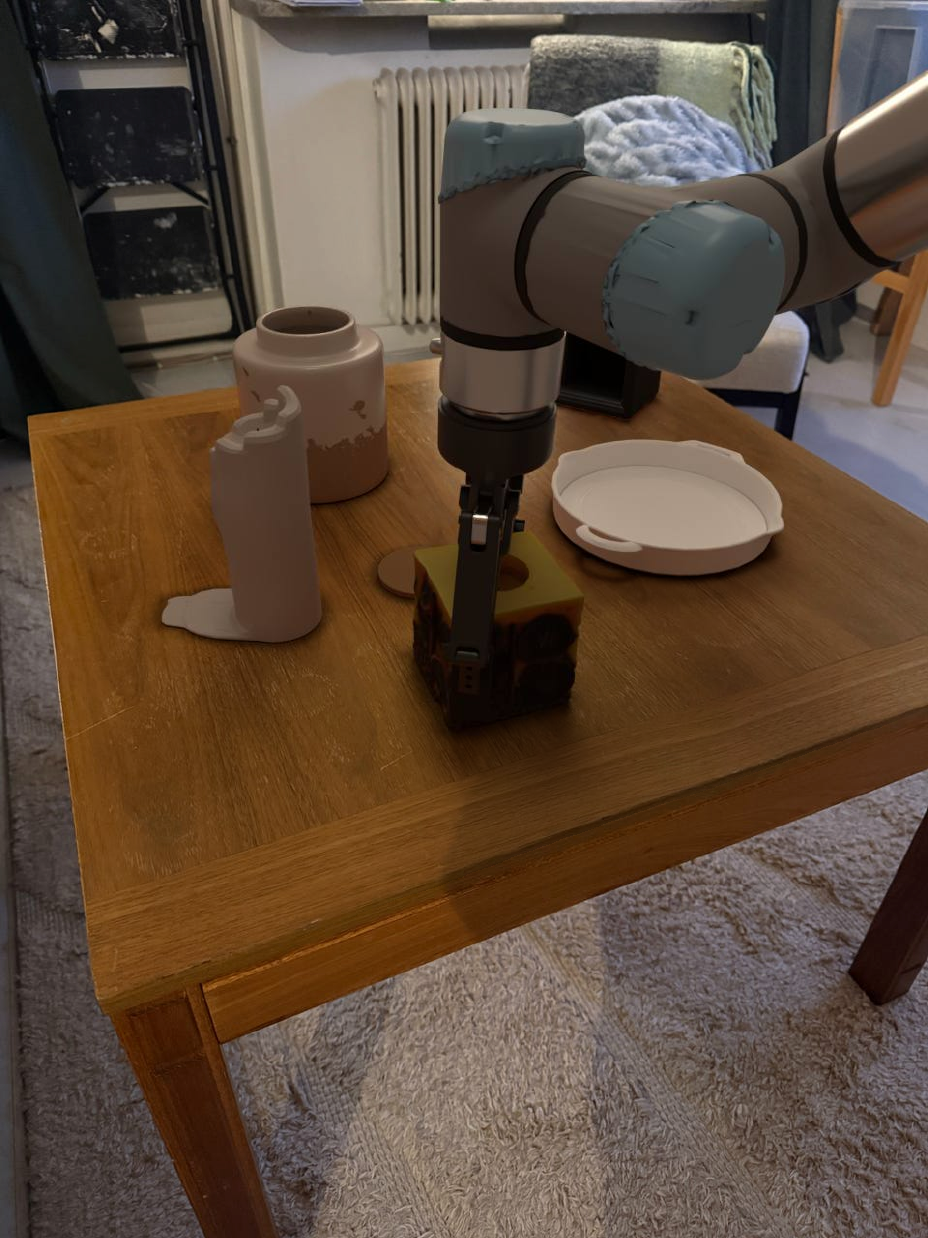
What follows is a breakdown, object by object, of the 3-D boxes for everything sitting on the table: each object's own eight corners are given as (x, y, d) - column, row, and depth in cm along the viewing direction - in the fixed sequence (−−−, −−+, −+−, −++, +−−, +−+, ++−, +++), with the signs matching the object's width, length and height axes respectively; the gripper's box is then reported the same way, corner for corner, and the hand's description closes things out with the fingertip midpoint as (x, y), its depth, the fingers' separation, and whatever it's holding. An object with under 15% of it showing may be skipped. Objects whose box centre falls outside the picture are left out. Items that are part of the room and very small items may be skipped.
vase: (224, 465, 96) (199, 314, 86) (339, 430, 104) (329, 287, 94) (295, 520, 87) (277, 357, 77) (416, 476, 95) (413, 324, 85)
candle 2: (175, 586, 77) (128, 370, 65) (329, 595, 77) (309, 378, 65) (147, 636, 72) (90, 408, 60) (312, 645, 71) (288, 417, 59)
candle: (450, 735, 63) (451, 627, 57) (408, 652, 71) (406, 549, 65) (575, 704, 66) (589, 598, 60) (522, 627, 74) (530, 527, 68)
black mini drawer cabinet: (467, 385, 116) (472, 194, 102) (504, 360, 124) (513, 180, 110) (630, 424, 107) (660, 221, 93) (659, 395, 115) (691, 203, 101)
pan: (819, 507, 91) (829, 473, 89) (714, 629, 74) (724, 591, 72) (616, 443, 103) (620, 411, 101) (484, 535, 85) (485, 500, 83)
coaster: (470, 555, 83) (470, 550, 82) (456, 603, 76) (456, 598, 76) (388, 547, 83) (388, 541, 83) (368, 594, 77) (368, 588, 77)
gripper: (468, 324, 64) (459, 561, 77) (396, 486, 44) (401, 767, 57) (569, 333, 63) (543, 570, 76) (541, 501, 44) (513, 782, 57)
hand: (482, 655), depth 67 cm, fingers closed on candle, 13 cm apart
